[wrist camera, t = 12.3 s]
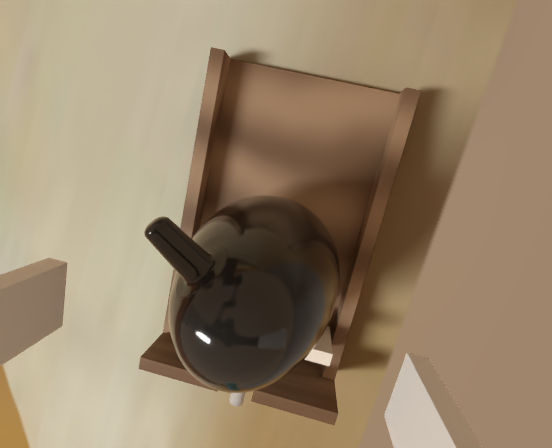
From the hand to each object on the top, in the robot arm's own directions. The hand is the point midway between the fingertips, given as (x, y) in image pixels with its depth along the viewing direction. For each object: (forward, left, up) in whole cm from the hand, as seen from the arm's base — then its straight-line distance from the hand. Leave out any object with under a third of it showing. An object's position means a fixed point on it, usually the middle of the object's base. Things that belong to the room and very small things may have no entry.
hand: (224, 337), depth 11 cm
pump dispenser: (+1, 0, -14) cm, 14 cm away
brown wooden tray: (-2, +1, -15) cm, 15 cm away
